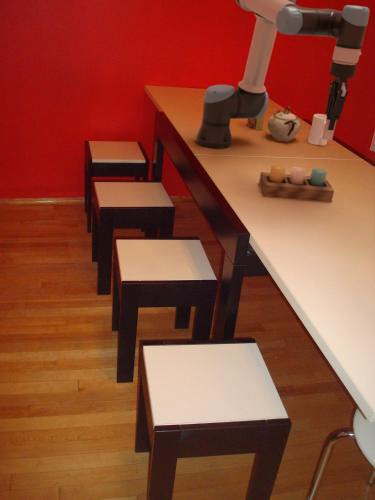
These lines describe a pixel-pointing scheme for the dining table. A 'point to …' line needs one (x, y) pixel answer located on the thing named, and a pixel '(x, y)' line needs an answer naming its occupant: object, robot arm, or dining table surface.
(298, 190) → the wooden compartment tray
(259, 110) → the robot arm
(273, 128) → the sugar bowl
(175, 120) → the dining table surface
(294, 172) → the pink round piece
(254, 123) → the candy box
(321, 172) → the teal egg
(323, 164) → the dining table surface
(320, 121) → the mug
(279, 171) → the orange rounded ball
